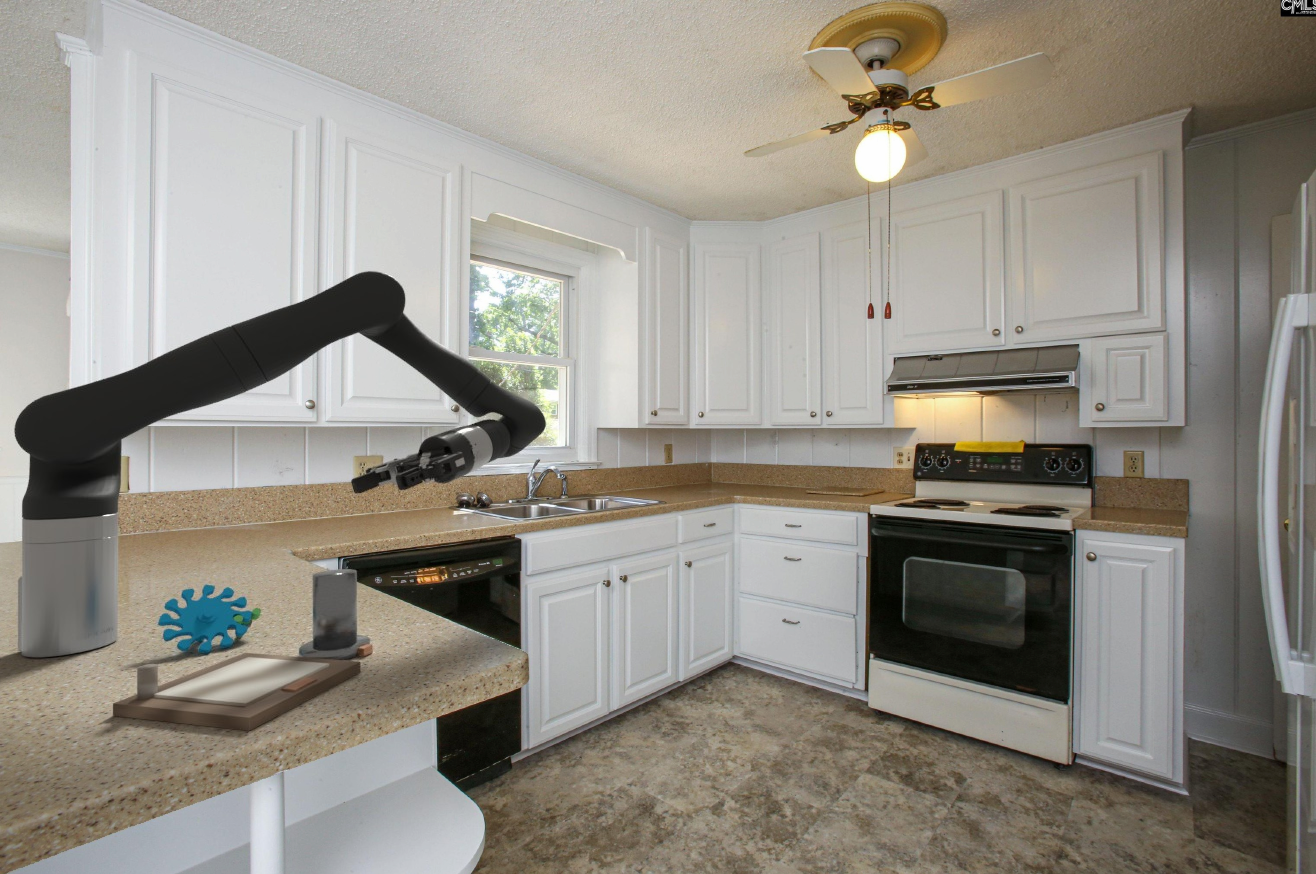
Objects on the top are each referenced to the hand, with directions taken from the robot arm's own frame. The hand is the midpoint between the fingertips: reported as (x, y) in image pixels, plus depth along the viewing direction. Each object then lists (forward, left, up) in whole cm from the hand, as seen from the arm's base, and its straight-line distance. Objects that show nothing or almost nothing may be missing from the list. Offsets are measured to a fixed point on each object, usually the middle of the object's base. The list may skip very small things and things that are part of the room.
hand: (376, 485), depth 84 cm
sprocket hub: (-2, -6, -21) cm, 22 cm away
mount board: (-2, -19, -21) cm, 28 cm away
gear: (-20, -6, -21) cm, 30 cm away
